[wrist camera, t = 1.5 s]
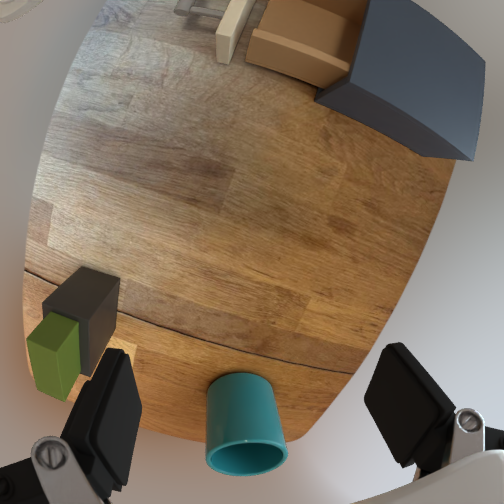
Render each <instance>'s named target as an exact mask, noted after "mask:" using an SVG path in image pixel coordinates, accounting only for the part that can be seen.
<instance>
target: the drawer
mask: <svg viewBox="0 0 504 504" xmlns="http://www.w3.org/2000/svg"><path fill="white" fill-rule="evenodd" d="M255 1H256V0H231V1H230V3H229V5H228V7H227V9H226V11H225V12H223V11H218V10H213V9H208V8H202V7H196V6H194V4H195V2H196V0H179V1H178V3H177V5H176V7H175V9H174V13H175V14H177V15H180V16H188V15H189V13H190V14H196V15H202V16H208V17H213V18H218V19H222V20H221V22H220V24H219V26H218V28H217V31H216V33H215V35H216V57H217V62H219V63H224V64H227V65H229V63H230V60H231V58H232V55H233V53H234V50H235V48H236V45H237V43H238V40H239V38H240V35H241V33H242V31H243V28H244V26H245V24H246V21H247V19H248V17H249V14H250V12H251V10H252V8H253V6H254V3H255ZM366 4H367V0H269V2H268V4H267V7H266V9H265V11H264V14H263V16H262V18H261V21H260V23H259V25H258V28H257V29H256V28H254V30H253V32H252V34H251V38H250V42H249V46H248V50H247V54H246V58H245V62H249V63H252V64H256V65H259V66H262V67H265V68H268V69H272V70H275V71H278V72H280V73H283V74H286V75H289V76H292V77H295V78H297V79H300V80H302V81H305V82H308V83H310V84H313V85H315V86H318V87H320V88H322V89H327V88H328V87H330V86H332V85H333V84H335V83H337V82H338V81H340V80H342V79H343V78H345V77H347V76H348V73H349V69H350V66H351V62H352V58H353V55H354V51H355V47H356V43H357V40H358V36H359V32H360V28H361V24H362V20H363V16H364V12H365V8H366Z"/></svg>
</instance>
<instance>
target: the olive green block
mask: <svg viewBox="0 0 504 504" xmlns="http://www.w3.org/2000/svg"><path fill="white" fill-rule="evenodd" d="M26 341H27V346H28V352H29V357H30V362H31V366H32V371H33V375H34V379H35V383H36V387H37V390H39V391H41V392H43V393H45V394H47V395H50V396H52V397H54V398H56V399H59V400H61V401H63V402H65V401H66V399H67V397H68V395H69V393H70V391H71V389H72V387H73V385H74V383H75V381H76V379H77V377H78V375H79V374H80V372H81V365H80V350H79V322H77V321H75V320H72V319H69V318H67V317H64V316H61V315H59V314H56V313H54V312H50V313H49V314H48V315H47V316H46V317H45V318H44V319H43V320H42V321H41V323H40V324H39V325H38V326H37V327H36V328H35V329H34V330H33V332H32V333H31V334H30V335H29V336H28V337H27V339H26Z"/></svg>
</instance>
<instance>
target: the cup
mask: <svg viewBox="0 0 504 504" xmlns="http://www.w3.org/2000/svg"><path fill="white" fill-rule="evenodd" d="M205 453H206V454H205V456H206V463H207V464H208V466H209V467H211V468H212V469H213V470H215V471H217V472H220V473H222V474H226V475H232V476H252V475H259V474H263V473H266V472H269V471H271V470H274V469H276V468H277V467H279V466H280V465H282V464H283V463H284V462H285V461H286V459H287V457H288V451H287V447H286V442H285V438H284V434H283V429H282V425H281V421H280V417H279V412H278V408H277V404H276V399H275V395H274V391H273V388H272V386H271V385H270V383H269V382H268V381H267V380H265V379H264V378H262V377H260V376H258V375H255V374H251V373H232V374H228V375H225V376H222V377H220V378H219V379H217V380H216V381H214V382H213V383H212V384H211V385H210V387H209V389H208V391H207V395H206V449H205Z"/></svg>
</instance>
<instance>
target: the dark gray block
mask: <svg viewBox="0 0 504 504" xmlns="http://www.w3.org/2000/svg"><path fill="white" fill-rule="evenodd" d="M119 285H120V278H118V277H115V276H111V275H108V274H105V273H102V272H98V271H95V270H92V269H89V268H86V267H83V266H81V267H80V268H79V269H78V270H77V271H76V272H75V273H73V274H72V275H71V276H70V277H69V278H68V279H67V280H66V281H65V282H64V283H62V284H61V285H60V286H59V287H58V288H57V289H56V290H55V291H54V292H53V293H52V294H51V295H50V296H49V297H47V298H46V299H45V300H44V301H43V302H42V309H43V319H44V318H45V317H46V316H47V315H48V314H49V313H50V312H54V313H56V314H59V315H61V316H64V317H67V318H69V319H72V320H75V321H77V322H79V350H80V365H81V372H80V374H83V375H85V376H88V377H91V375H92V373H93V371H94V369H95V367H96V365H97V363H98V361H99V359H100V357H101V355H102V353H103V351H104V349H105V347H106V346H107V344H108V342H109V340H110V338H111V336H112V334H113V332H114V331H115V327H116V314H117V303H118V294H119Z"/></svg>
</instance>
